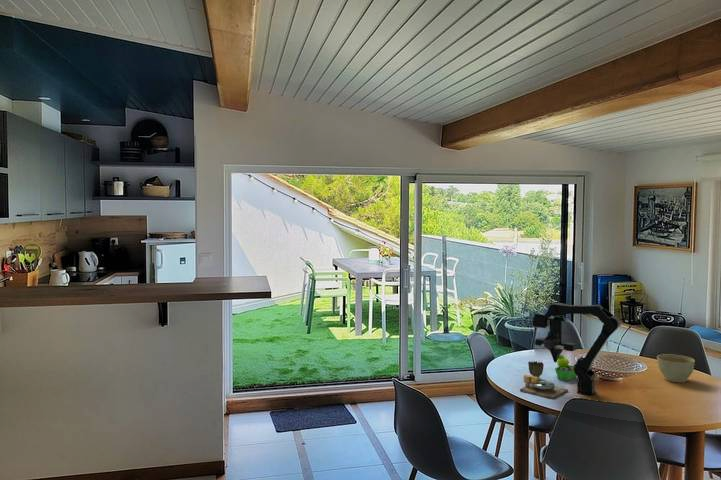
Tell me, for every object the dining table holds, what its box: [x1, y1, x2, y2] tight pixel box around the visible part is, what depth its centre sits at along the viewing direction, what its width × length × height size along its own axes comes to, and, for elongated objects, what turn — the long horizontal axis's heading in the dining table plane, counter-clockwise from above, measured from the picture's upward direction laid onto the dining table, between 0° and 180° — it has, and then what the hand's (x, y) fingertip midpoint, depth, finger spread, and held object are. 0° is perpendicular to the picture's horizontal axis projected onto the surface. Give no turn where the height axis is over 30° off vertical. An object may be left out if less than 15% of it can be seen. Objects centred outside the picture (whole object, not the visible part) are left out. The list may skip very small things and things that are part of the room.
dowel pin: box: [524, 376, 530, 387], centre depth 251 cm, size 2×2×5 cm
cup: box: [527, 360, 545, 380], centre depth 267 cm, size 8×7×8 cm
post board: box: [519, 380, 569, 400], centre depth 248 cm, size 16×15×5 cm
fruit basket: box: [554, 354, 577, 381], centre depth 268 cm, size 11×9×11 cm
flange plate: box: [523, 374, 556, 390], centre depth 249 cm, size 14×10×3 cm
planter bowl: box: [656, 353, 696, 383], centre depth 263 cm, size 16×16×11 cm
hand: (555, 362), depth 253 cm, fingers closed
